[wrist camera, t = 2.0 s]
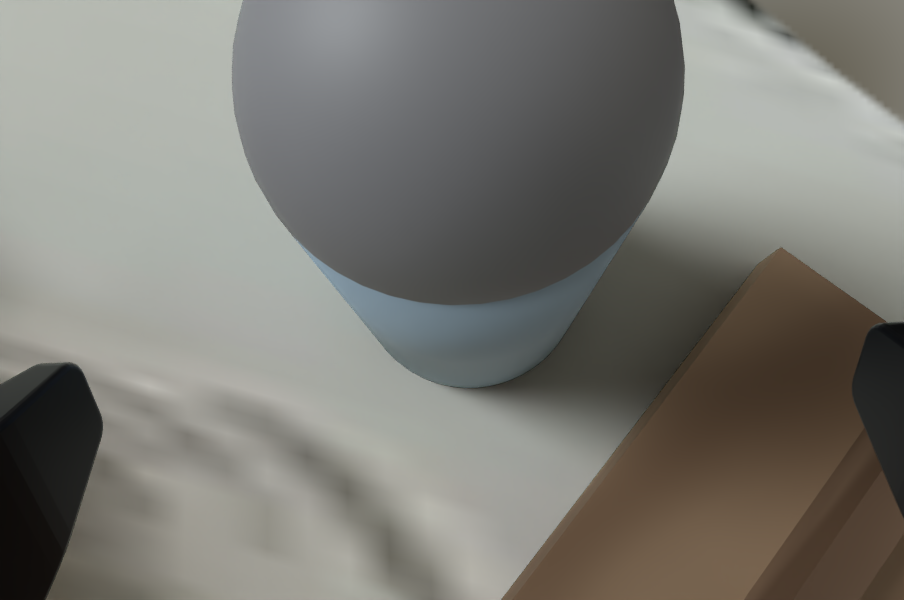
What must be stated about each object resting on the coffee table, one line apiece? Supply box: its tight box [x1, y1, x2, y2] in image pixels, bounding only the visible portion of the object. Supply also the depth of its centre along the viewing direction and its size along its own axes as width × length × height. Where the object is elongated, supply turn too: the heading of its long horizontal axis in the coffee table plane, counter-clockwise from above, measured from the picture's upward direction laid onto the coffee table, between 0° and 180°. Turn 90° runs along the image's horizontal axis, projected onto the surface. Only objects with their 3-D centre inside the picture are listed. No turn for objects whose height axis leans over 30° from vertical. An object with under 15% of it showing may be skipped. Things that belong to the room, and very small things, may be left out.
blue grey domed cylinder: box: [232, 0, 685, 388], centre depth 13 cm, size 6×6×13 cm
